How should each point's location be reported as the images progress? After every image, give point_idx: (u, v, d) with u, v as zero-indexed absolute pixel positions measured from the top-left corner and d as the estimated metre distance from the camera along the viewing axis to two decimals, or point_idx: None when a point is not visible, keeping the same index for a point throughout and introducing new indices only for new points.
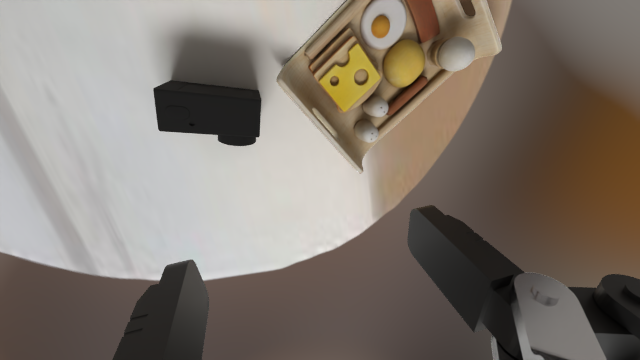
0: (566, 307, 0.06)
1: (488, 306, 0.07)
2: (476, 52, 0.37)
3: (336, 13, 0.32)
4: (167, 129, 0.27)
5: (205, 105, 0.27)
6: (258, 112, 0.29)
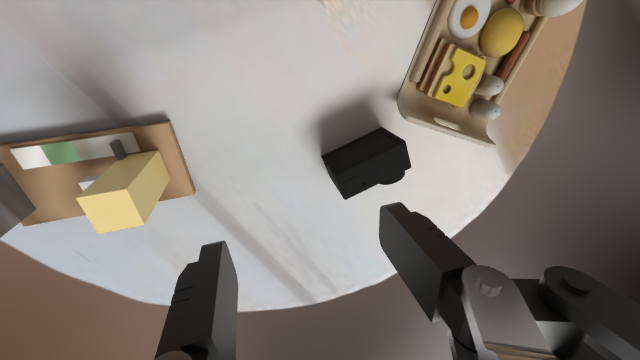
0: (506, 296, 0.06)
1: (442, 297, 0.07)
2: None
3: (425, 33, 0.35)
4: (349, 196, 0.35)
5: (369, 167, 0.34)
6: (406, 150, 0.34)
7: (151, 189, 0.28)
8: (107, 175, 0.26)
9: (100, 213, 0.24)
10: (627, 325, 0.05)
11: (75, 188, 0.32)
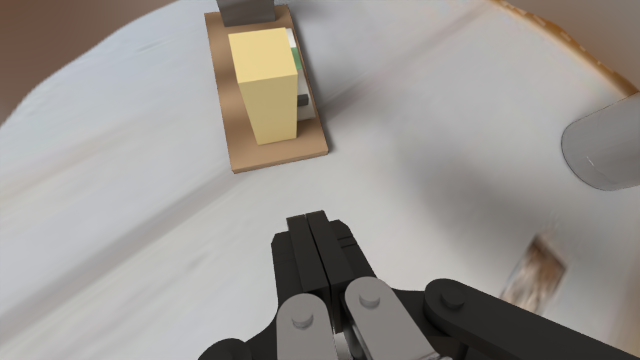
0: (380, 310, 0.06)
1: (339, 308, 0.07)
2: None
3: None
4: None
5: None
6: None
7: (268, 113, 0.21)
8: None
9: (260, 43, 0.18)
10: (500, 328, 0.05)
11: None
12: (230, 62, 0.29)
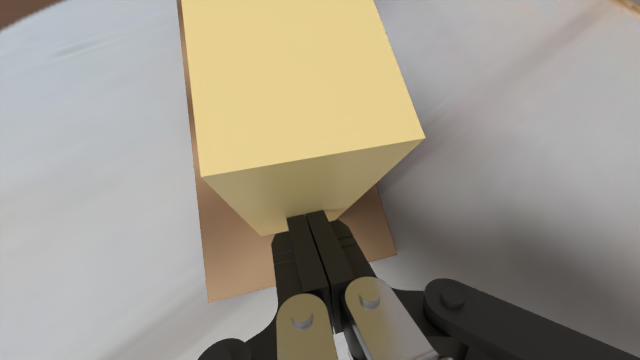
0: (380, 310, 0.06)
1: (339, 308, 0.07)
2: None
3: None
4: None
5: None
6: None
7: (293, 209, 0.09)
8: None
9: (291, 25, 0.05)
10: (500, 329, 0.05)
11: None
12: None
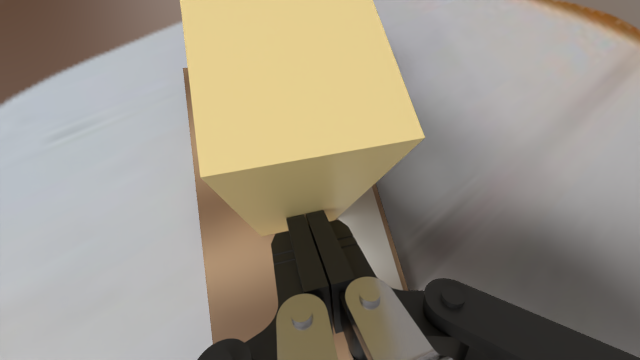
0: (380, 310, 0.06)
1: (339, 308, 0.07)
2: None
3: None
4: None
5: None
6: None
7: (293, 209, 0.09)
8: None
9: (290, 24, 0.05)
10: (500, 328, 0.05)
11: None
12: None
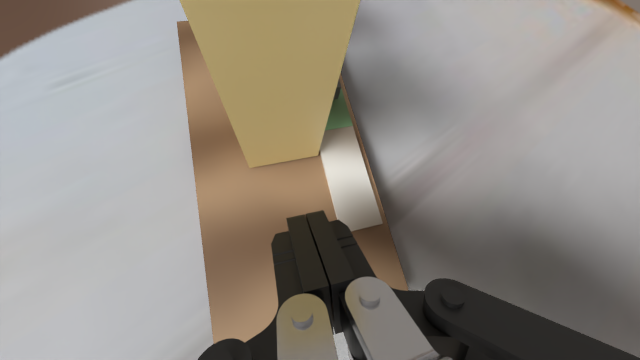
0: (380, 310, 0.06)
1: (339, 308, 0.07)
2: None
3: None
4: None
5: None
6: None
7: (270, 107, 0.10)
8: None
9: None
10: (500, 328, 0.05)
11: None
12: (220, 112, 0.16)
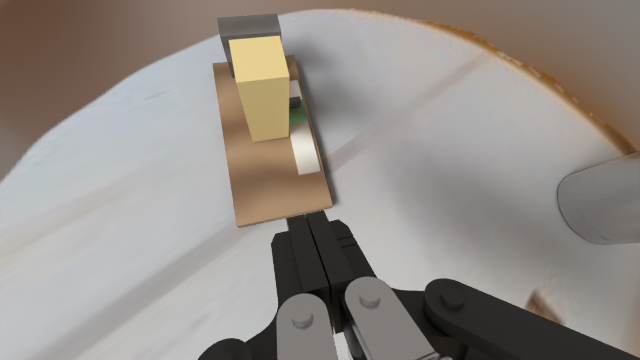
0: (380, 310, 0.06)
1: (339, 308, 0.07)
2: None
3: None
4: None
5: None
6: None
7: (262, 112, 0.24)
8: None
9: (257, 48, 0.20)
10: (500, 328, 0.05)
11: None
12: (237, 114, 0.30)
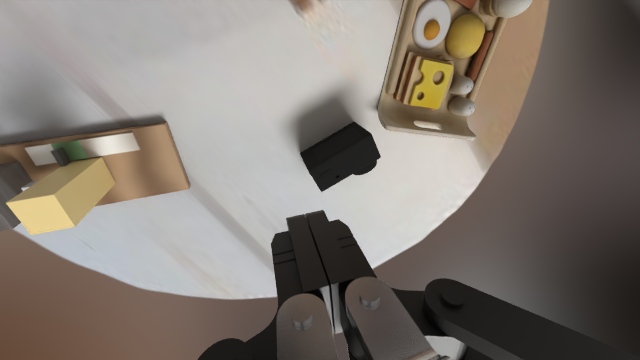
0: (380, 310, 0.06)
1: (339, 309, 0.07)
2: None
3: (393, 49, 0.38)
4: (325, 188, 0.39)
5: (340, 160, 0.37)
6: (373, 142, 0.37)
7: (88, 193, 0.31)
8: (43, 181, 0.29)
9: (31, 216, 0.26)
10: (500, 328, 0.05)
11: None
12: None
